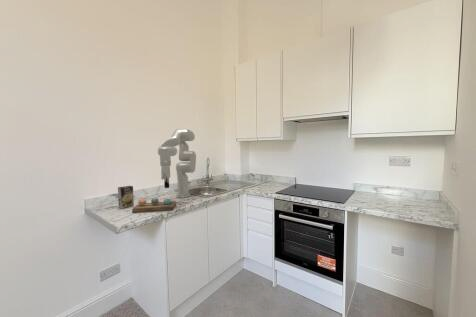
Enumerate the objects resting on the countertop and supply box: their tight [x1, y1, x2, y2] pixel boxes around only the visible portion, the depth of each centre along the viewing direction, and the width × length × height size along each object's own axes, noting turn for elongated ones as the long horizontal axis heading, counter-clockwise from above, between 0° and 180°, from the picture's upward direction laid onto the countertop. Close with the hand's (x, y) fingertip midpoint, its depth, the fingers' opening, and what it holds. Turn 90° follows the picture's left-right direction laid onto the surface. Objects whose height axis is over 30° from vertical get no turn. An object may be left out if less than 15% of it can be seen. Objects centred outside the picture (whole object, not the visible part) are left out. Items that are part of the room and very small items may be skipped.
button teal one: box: [163, 198, 172, 205], centre depth 157 cm, size 5×5×3 cm
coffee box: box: [117, 185, 135, 210], centre depth 162 cm, size 9×6×16 cm
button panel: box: [131, 200, 177, 214], centre depth 156 cm, size 14×28×3 cm, turn 98°
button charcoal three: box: [150, 197, 159, 204], centre depth 156 cm, size 5×5×3 cm
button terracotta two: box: [138, 198, 147, 205], centre depth 155 cm, size 5×5×3 cm
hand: (167, 187), depth 157 cm, fingers closed
